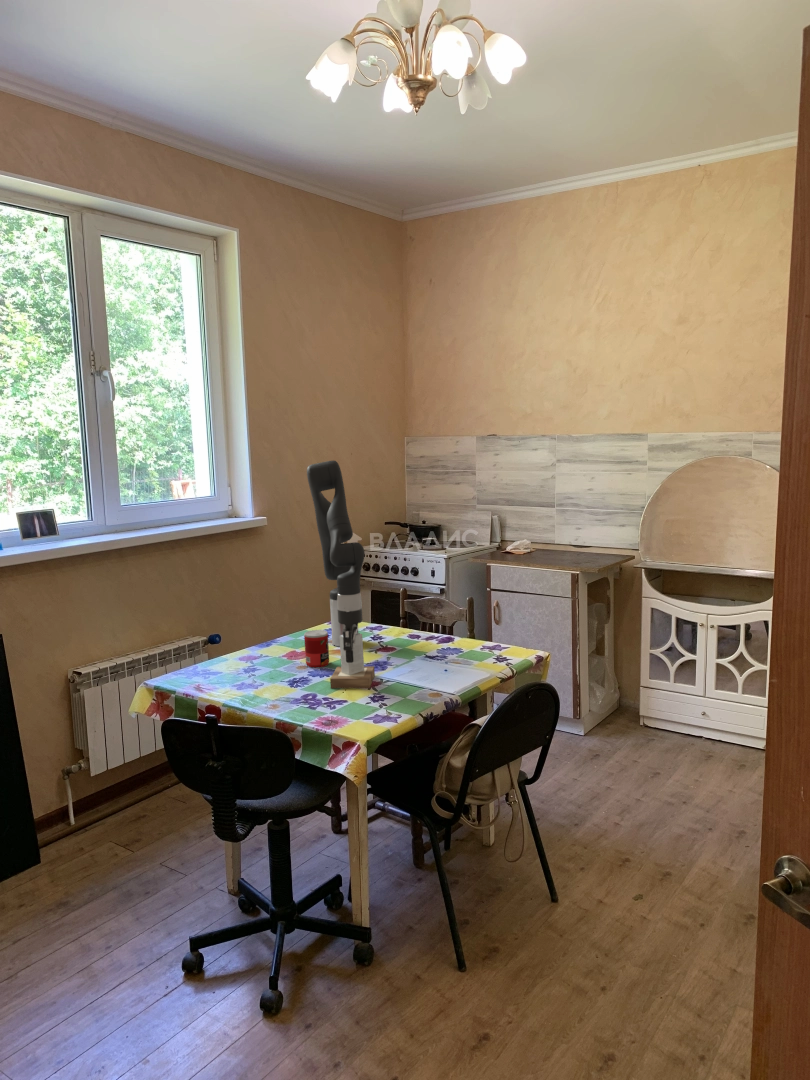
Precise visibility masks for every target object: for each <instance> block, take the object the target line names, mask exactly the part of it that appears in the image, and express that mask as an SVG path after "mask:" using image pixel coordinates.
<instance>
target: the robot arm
mask: <svg viewBox="0 0 810 1080" xmlns="http://www.w3.org/2000/svg"><path fill="white" fill-rule="evenodd" d="M306 477H307V482H308V487H309V489H310V490H309V491H310V494H311V498H312V502H313V507H314V514H315V520H316V526H317V527H316V528H317V533H318V536H319V541H320V544H321V545H320V546H321V552H322V563H323V571H324V576H325V577H326V579H327V580H328V581H336V584H337V585H336V588H333V589H331V590H330V592H329V607H330V609H329V610H330V625H331V644H332V646H334V645H335V647H340V636H341V635H343V645H344V648H343V649H344V651H346V662H347V663H352V662H353V661H354V659H353V649H354V648H353V645H354V644H355V638H356V634H357V633H359V624H360V623H361V624H362V622H363V606H362V605H363V603H362V602H363V601H362V600H363V599H362V595H361V574H362V569H363V565H364V560H365V554H366V553H365V547H364V546H363V545H362V544H361V543H360V542H357V541H355V542H348V541H350V540H351V539H352V537H353V536H354V533H353V532H354V531H353V527H352V524H351V520H350V517H349V513H348V508H347V499H346V497H347V496H346V491H345V486H344V485H345V484H344V478H343V474H342V471H341V467H340V465H339V462H338V461H336V460H334V459H333V460H327V461H322V462H317V463H312V464H309V465H308V466H307V468H306ZM329 490H334V495H333V499H332V501H331V502H330V501H329V500H328V499H327V498H326V497H325V495H324V494H323V493H322V492H324V491H329ZM347 644H350V646H347Z"/></svg>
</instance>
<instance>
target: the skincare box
mask: <svg viewBox="0 0 810 1080" xmlns="http://www.w3.org/2000/svg"><path fill="white" fill-rule="evenodd" d="M363 639H364V638H363V633H360V632H358V633H357V634H356V638H355V644H354V645H353V648H354V649H353V659H354V661H353V662H352V663H347V662H346V651H344V649H343V648H344V645H343V635H341V636H340V646H339V648H340V651H339V652H340V663H341V664H340V665H341V666H340V667H341V668H342V673H344V674H347V675H352V674H355V673H358V672H361V671H364V666H365V660H364V643H363V642H364V641H363ZM347 646H350V644H347Z"/></svg>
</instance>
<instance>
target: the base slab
mask: <svg viewBox="0 0 810 1080" xmlns="http://www.w3.org/2000/svg"><path fill="white" fill-rule="evenodd" d="M375 675H376V673H375V666H374V665H373V666H372V665H368V666H367V665H366V666H365V665H364V671H361V672H358V673H355V674H352V675H347V674H344V673H342V668H341V666H336V668H335V670H334V672H333V674H332V675H331V677H330V678H329V680H330V681H329V682H330V689H370V688H371V686H372V683H373V681H374V677H375Z"/></svg>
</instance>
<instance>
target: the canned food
mask: <svg viewBox="0 0 810 1080" xmlns="http://www.w3.org/2000/svg"><path fill="white" fill-rule="evenodd" d="M303 636H304V637H303V638H304V652H305V653H304V654H305V656H304V657H305V664H306V666H307V667H308V666H309V668H313V667H314V668H315V669H316V667H319V668H325V667H326V666H328V665H329V663H330V652H329V651H330V650H329V648H330V647H329V634H328V631H327V630H322V629H315V630H313V629H312V630H308V631H305V632H304V635H303Z"/></svg>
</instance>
